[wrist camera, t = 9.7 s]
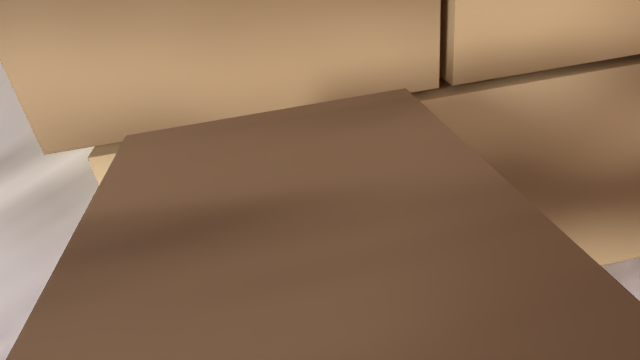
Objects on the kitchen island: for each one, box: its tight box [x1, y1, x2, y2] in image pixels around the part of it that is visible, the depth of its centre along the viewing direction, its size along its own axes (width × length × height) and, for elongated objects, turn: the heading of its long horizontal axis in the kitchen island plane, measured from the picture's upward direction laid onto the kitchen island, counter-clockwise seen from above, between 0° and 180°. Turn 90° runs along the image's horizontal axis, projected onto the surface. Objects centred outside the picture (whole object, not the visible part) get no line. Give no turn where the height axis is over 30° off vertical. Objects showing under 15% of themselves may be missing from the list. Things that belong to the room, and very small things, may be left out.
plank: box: [88, 54, 640, 266], centre depth 16 cm, size 8×20×2 cm, turn 97°
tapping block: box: [6, 88, 640, 360], centre depth 7 cm, size 5×5×6 cm
